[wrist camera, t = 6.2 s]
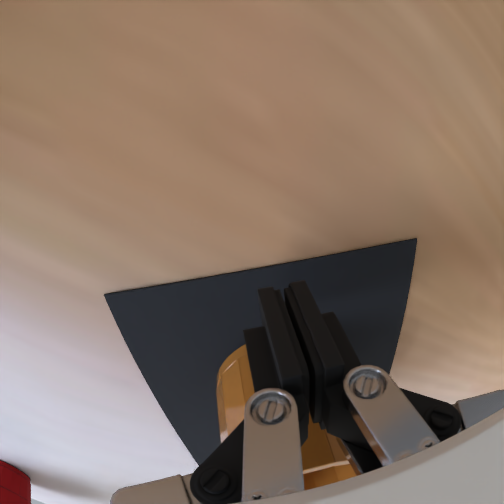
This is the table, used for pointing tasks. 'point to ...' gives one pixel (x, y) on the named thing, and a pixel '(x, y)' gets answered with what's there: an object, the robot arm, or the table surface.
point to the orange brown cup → (319, 441)
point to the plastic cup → (14, 485)
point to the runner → (254, 325)
